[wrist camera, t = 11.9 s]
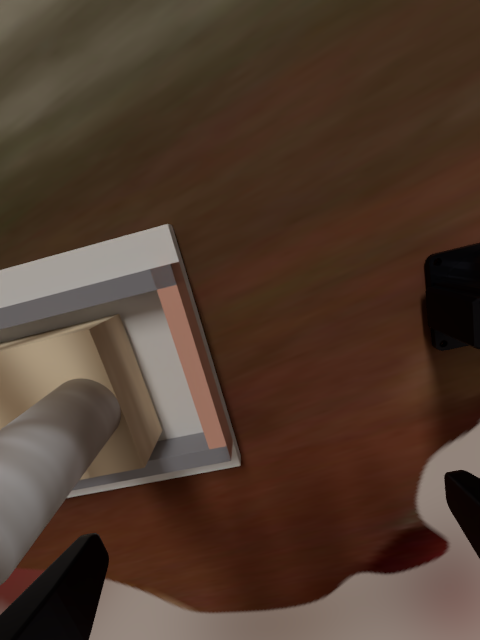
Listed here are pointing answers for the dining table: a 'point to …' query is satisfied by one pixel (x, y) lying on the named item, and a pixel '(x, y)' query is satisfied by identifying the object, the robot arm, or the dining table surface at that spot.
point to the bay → (135, 342)
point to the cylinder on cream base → (66, 423)
